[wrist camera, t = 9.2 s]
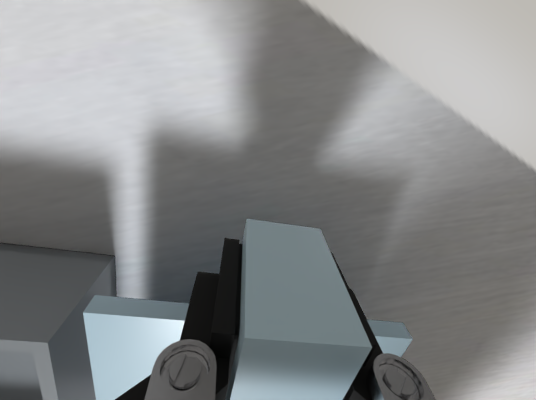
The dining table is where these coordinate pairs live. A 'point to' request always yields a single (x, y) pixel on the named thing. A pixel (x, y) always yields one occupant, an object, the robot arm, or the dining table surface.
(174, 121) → the dining table surface
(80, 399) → the tub
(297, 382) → the segmented blue block
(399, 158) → the dining table surface
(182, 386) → the robot arm
